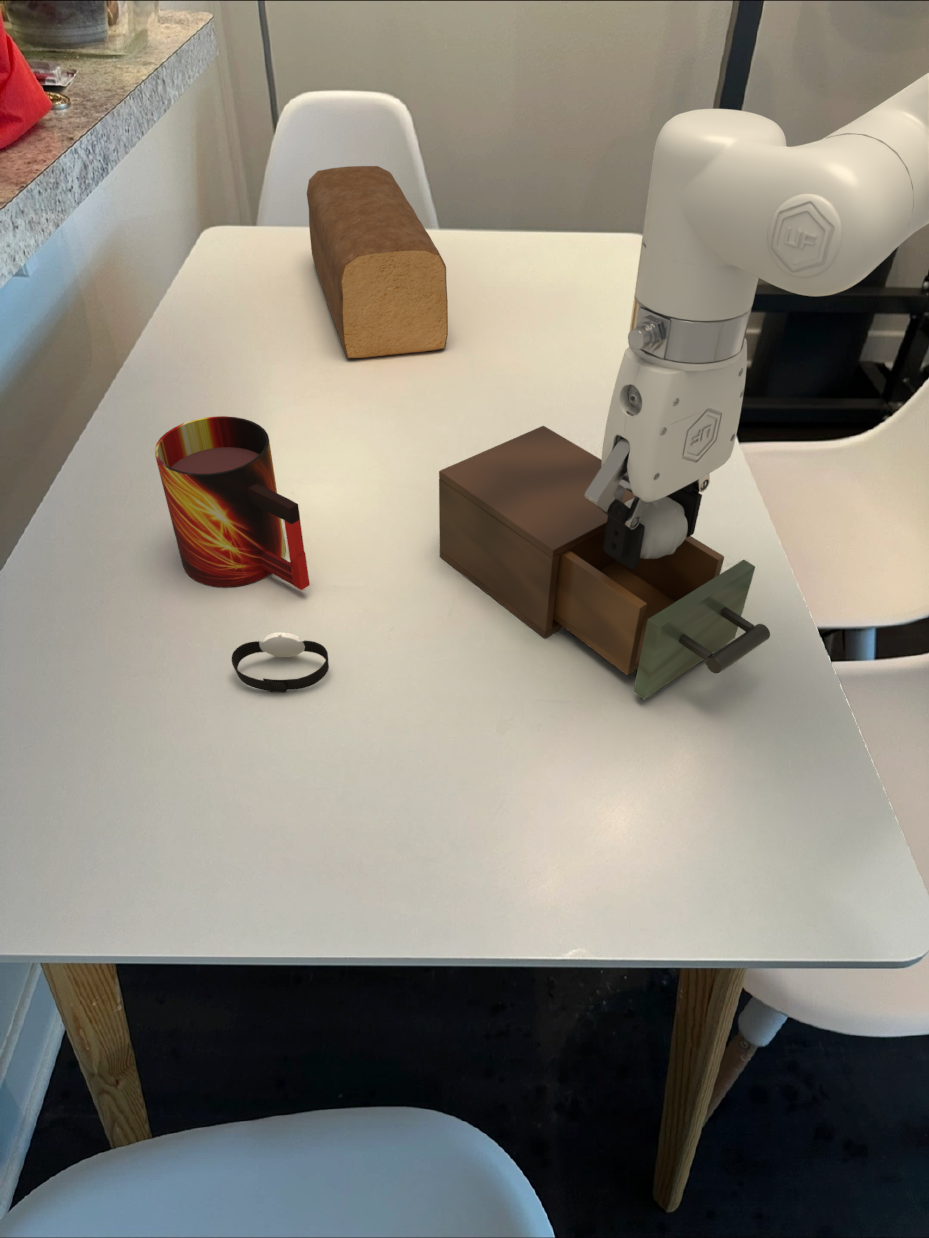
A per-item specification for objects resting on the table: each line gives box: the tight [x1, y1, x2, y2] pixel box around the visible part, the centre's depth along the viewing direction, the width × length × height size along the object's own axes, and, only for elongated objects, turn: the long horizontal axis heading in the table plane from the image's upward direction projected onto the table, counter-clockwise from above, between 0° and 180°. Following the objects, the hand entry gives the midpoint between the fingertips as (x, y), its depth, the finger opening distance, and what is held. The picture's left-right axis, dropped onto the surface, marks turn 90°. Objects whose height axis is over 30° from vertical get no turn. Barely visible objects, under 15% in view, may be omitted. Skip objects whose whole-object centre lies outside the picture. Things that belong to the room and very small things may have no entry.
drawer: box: [553, 530, 771, 700], centre depth 75 cm, size 18×11×8 cm, turn 39°
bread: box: [306, 165, 449, 359], centre depth 124 cm, size 14×34×14 cm, turn 14°
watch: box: [231, 631, 330, 693], centre depth 74 cm, size 8×5×4 cm, turn 92°
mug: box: [154, 415, 310, 591], centre depth 82 cm, size 10×14×12 cm
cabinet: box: [438, 425, 635, 639], centre depth 82 cm, size 15×13×10 cm
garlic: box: [625, 496, 688, 559], centre depth 71 cm, size 6×5×5 cm
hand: (648, 541), depth 72 cm, fingers closed on garlic, 5 cm apart
